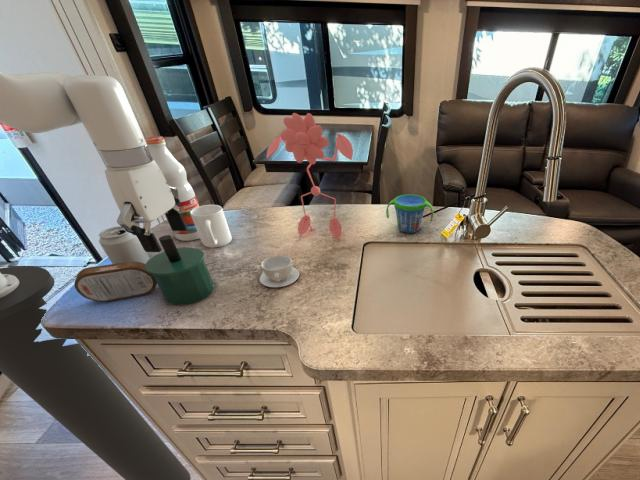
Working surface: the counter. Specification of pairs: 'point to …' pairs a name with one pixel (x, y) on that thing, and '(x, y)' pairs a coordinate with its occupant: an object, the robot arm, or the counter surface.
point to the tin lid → (173, 259)
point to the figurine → (310, 156)
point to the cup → (211, 225)
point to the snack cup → (409, 212)
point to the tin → (114, 281)
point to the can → (122, 246)
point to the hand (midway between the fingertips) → (167, 240)
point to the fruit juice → (175, 184)
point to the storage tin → (186, 285)
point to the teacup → (278, 271)
